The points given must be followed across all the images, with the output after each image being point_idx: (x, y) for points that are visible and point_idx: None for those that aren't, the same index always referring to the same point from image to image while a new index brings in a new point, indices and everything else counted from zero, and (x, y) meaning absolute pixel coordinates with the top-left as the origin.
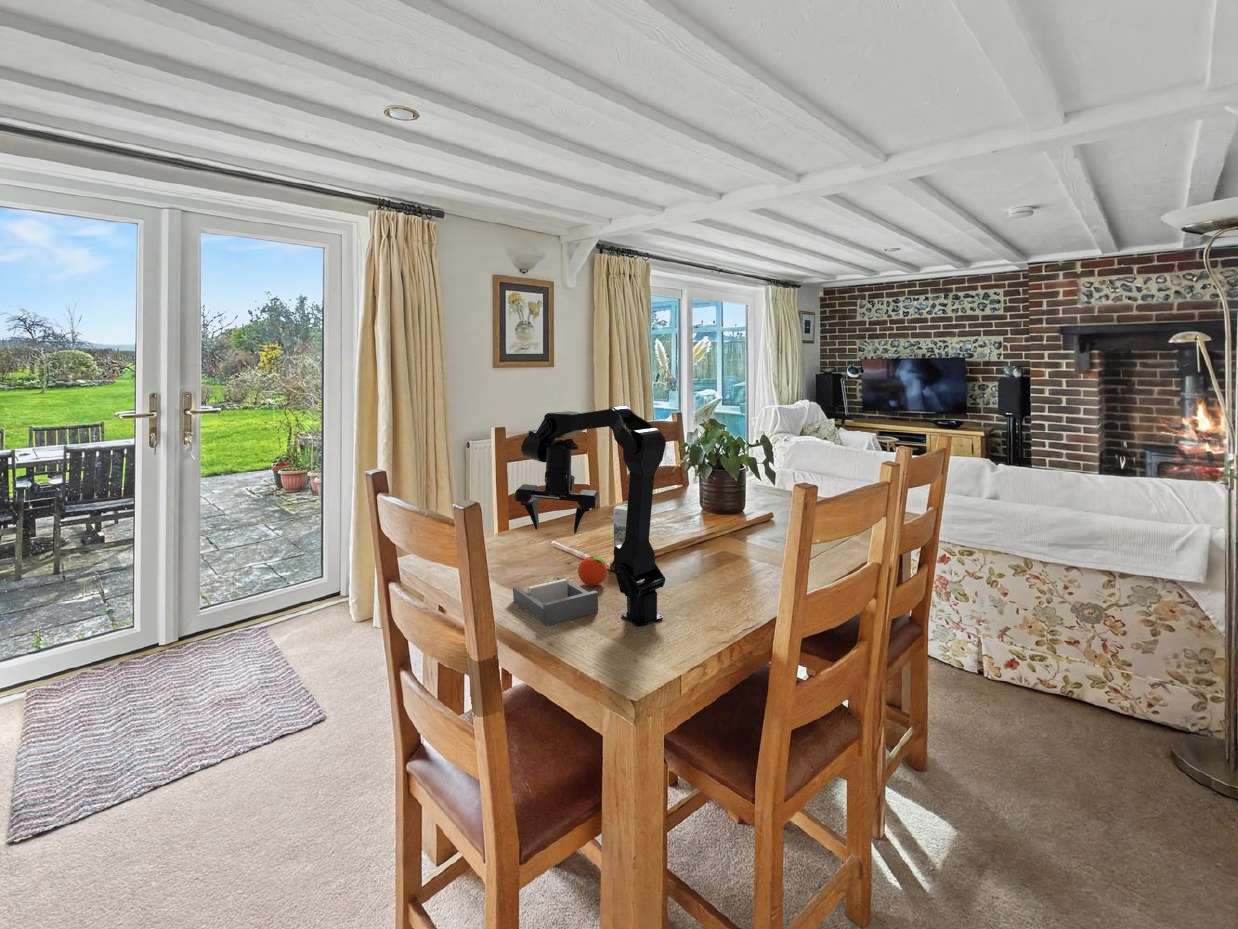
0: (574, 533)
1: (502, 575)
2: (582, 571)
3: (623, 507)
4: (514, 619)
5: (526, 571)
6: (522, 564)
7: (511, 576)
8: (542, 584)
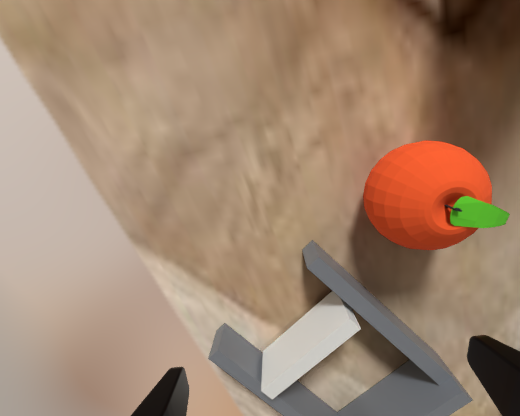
0: (469, 362)
1: (93, 167)
2: (394, 242)
3: None
4: (261, 409)
5: (146, 112)
6: (95, 39)
7: (124, 169)
8: (295, 370)
